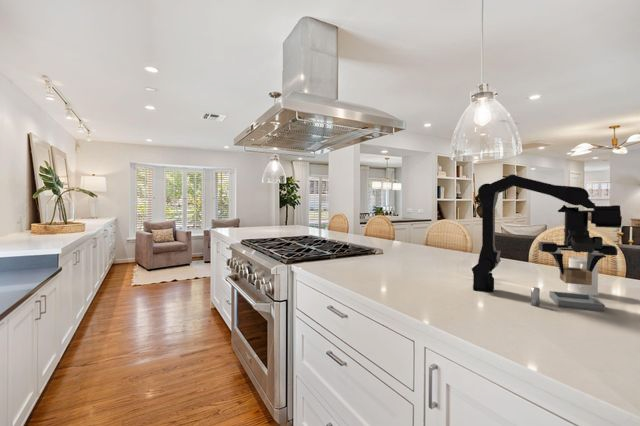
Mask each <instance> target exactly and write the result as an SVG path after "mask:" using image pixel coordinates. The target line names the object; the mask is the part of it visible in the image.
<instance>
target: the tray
mask: <svg viewBox="0 0 640 426" xmlns="http://www.w3.org/2000/svg"><path fill="white" fill-rule="evenodd" d="M548 296H549V298H550V299H551V300H552V302H554V303H555V304H556V305H557V307H559V308H568V309H569V308H570V309H576V310H577V309H578V310H589V311H597V312H605V311H606V304H605V303H603V302H601V301H600V300H599V299H597V298H596V297H595V296H592V295H589V294H578V293H572V292H567V291H566V292H563V291H553V290H549V295H548Z"/></svg>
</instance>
